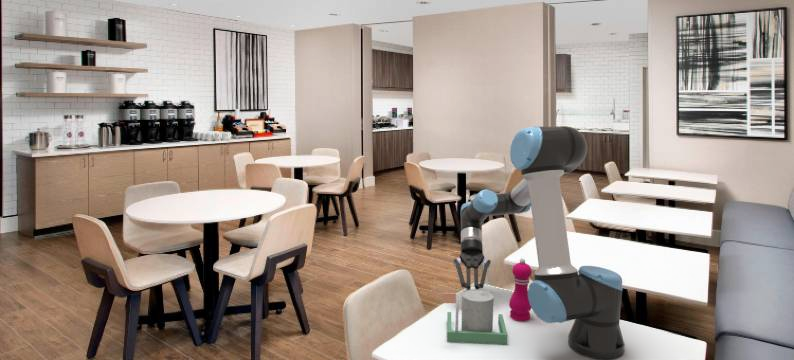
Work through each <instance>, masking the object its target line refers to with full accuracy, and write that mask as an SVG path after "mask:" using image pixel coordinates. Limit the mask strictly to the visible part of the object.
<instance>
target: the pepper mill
mask: <svg viewBox="0 0 794 360" xmlns="http://www.w3.org/2000/svg"><path fill="white" fill-rule="evenodd" d="M511 270H512V274H513V276H514V277H513V282H514V290H513V293H512V295H511V296H510V299H509V301H508V302H509V303H508V305H509V308H510V309H511V310H510V311H509V312H510V313H509V314H510V315H509V316H510V319H512V320H514V321H517V322H527V321H529V320H530V317H531V312H530V311H531V310H532V308H531V305H530V303H529V299H528V288H529V285H530V277H531V276H532V268H531V266H530V265H529V264H528V263H526V259H525V258H520V259H519V262H517V263H515V264H514V265H513V267H512V269H511Z"/></svg>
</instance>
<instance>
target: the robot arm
mask: <svg viewBox="0 0 794 360" xmlns="http://www.w3.org/2000/svg"><path fill="white" fill-rule="evenodd" d="M510 144H511V145H510V151H509V155H510V156H509V157H510V161H511V164H513V167H514V168H515V169H517V170H520V173H521V177H522V180H520V181H519V182H518V183H517V184H516V185H515V186H514V187H512V189H511V190H510V191H509V192H504V193H503V192H502V193H495V191H493V190H489V189H487V188H486V189H482V190H480V191H479V192H478V193H477V194H476V195H474V197H473V198H472V200H471V201H467V202H465V203H463V204H462V205H461V207H460V212H459V214H460V255H459V257H457V258H454V259H453V265H454V267H455V268H456V271H457V272H456V273H457V276H458V279H459V283H460V287H461V288H463V289H464V288H465V290H471V289H483V288H484V285H485V281H486V277H487V273H488V269H489V267H491V263H492V261H491V259H486V257H485V256H484V250H483V249H484V248H483V226H482V225H483V222H484V221H485V220H486V219H487V218H488V217H490V216H493V217H494V216H503V215H516V214H517V215H518V214H522V213H527V212H529V211H530V210H531V215H532V216H531V217H532V224H533V229H534V230H533V232H534V239H535V247H536V255H537V263H538V268H537V269H536V270H535V272H533V274H534V280H533V281H532V282H530V283H529V284H528V299H529V303H530V305H531V310H532V311H533V313H534V314H535V315H536V316H537V318H538V319H539V320H541V321H542V322H545V323H547V324H554V323H555V324H556V323H564V322H568V321H573V320H574V322H573V323H572V325H571V328H570V330H569V333H568V336H567V343H568V346H569V348H570V349H571V350H573V351H574V352H576V353H578V354H580V355H582V356H584V357H588V358H591V359H598V360H614V359H618V358H620V357H621V356H623V355H624V353H625V341H624V337H623V334H622V330H621V326H620V320H621V319H620V318H621V307H622V299H623V298H622V295H623V278H622V276H621V275H620V274H619V273H617V272H616V271H613V270H611V269H609V268H608V269H607V268H604V267H600V266H595V265H582V266H580V267H579V269H577V268H576V267H575V266H573V264H572V262H571V256H570V255H571V254H570V248H569V240H568V233H567V232H568V231H567V225H566V219H565V211H564V204H563V196H562V189H561V180H560V178H561V177H562V176H563V175H564V174H569V173H572V172H573V171H575V170H576V169H577V168H578V167H579V166H580V165H581V164H582V163H583V161H584V160H585V158H586V157H587V155H588V154H587V153H588V143H587V140H586V137H585V136H584V135H583V133H582V132H580V131H579V130H578V129H576V128H574V127H572V126H566V125H565V126H564V125H562V126H561V125H559V126H538V125H537V126H530V127H524V128H522V129H519V131H517V132H516V133H515V135H514V137H513V139H512V141H511V143H510ZM461 263H462V264H463V266H464V267H465V268H466V271H465V272H466V275H465V276H466V281H465V277H464V274H463V271H462V265H461ZM482 263H483V264H482ZM481 265H483V269H482V275H481V279H480V282H479V267H480V266H481ZM471 269H473V282H474V283H473V285H474V286H471V282H472V281H471Z"/></svg>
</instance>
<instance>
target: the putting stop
mask: <svg viewBox="0 0 794 360" xmlns="http://www.w3.org/2000/svg"><path fill="white" fill-rule="evenodd" d="M459 296H460V292H456V293H455V292H454V293H453V292H443V293H442V304H454V305H455V329H454V330H452V312H451V311H448V312H447V315H446V316H447V319H446V322H447V323H446V325H447V326H446V327H447V329H446V330H447V331H446V334H447V335H446V337H447V339H446V340H447V341H446V342H448V343H468V344H486V345H487V344H489V345H491V344H492V345H508V337H509V336H508V331H507V327H506V323H505V320H504V316H503V314H501V313H498V320H497V321H498V322H497V325H498V329H499V332H498V331H497V332H496V331H495V332H494V331H492V332H474V331H461V330H459V310H460V308H459V305H460V304H459V303H460V299H459V298H460V297H459Z"/></svg>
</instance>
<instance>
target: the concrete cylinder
mask: <svg viewBox="0 0 794 360" xmlns="http://www.w3.org/2000/svg"><path fill="white" fill-rule="evenodd" d="M461 298H462V299H461V326H460V327H461V330H460V331H474V332H493V322H494V298H495V296H494V294H493V293H492V292H491V291H488V290H484V289H481V288H479V289H471V290H467V289H465V291H463V292H462V294H461Z"/></svg>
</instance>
